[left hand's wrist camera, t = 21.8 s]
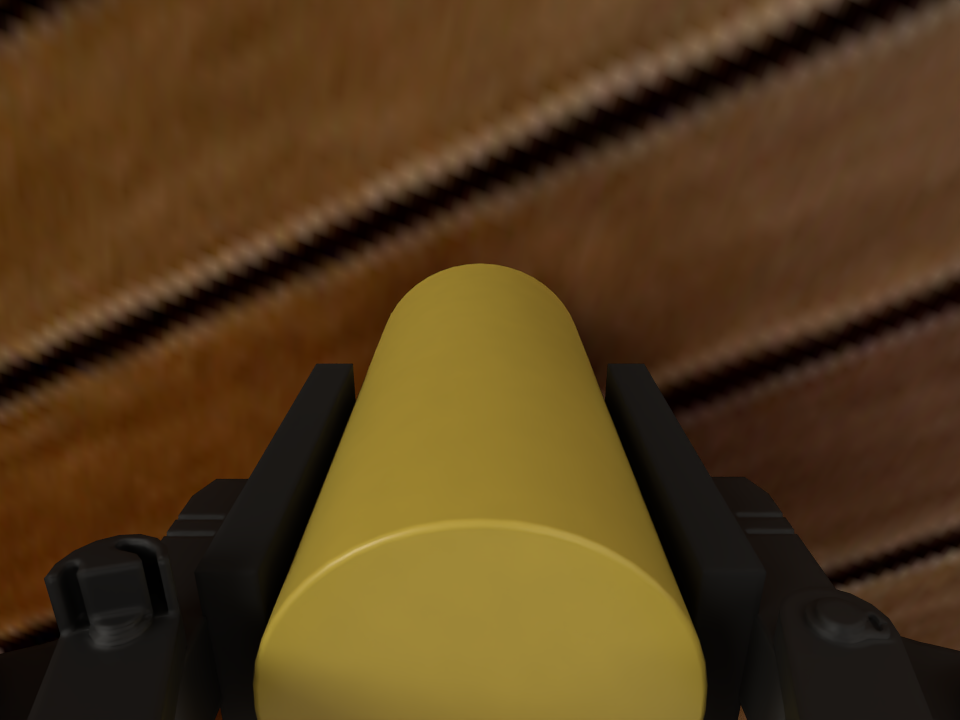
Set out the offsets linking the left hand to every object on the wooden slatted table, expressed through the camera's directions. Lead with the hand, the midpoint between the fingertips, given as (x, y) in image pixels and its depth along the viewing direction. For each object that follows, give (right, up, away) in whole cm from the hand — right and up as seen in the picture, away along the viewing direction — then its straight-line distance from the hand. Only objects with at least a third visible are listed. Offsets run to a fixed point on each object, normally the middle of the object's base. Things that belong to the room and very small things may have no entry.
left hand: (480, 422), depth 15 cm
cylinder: (0, +1, +3) cm, 4 cm away
